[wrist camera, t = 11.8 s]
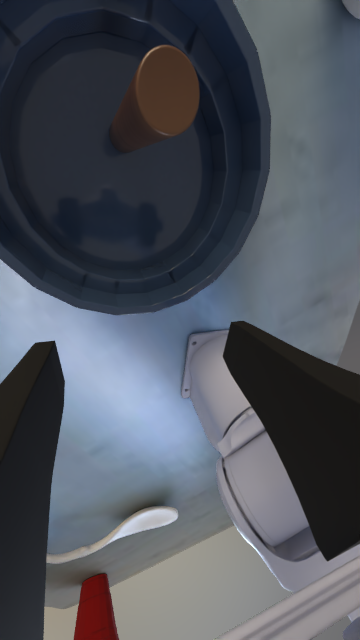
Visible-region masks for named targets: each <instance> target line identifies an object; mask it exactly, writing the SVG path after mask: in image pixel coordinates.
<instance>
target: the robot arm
mask: <svg viewBox="0 0 360 640" xmlns="http://www.w3.org/2000/svg"><path fill="white" fill-rule="evenodd" d="M194 341H195V342H194ZM192 342H194V343H192ZM64 385H65V380H64V376H63V372H62V368H61V364H60V360H59V356H58V352H57V347H56V343H55V341H48V342H39V343H35V344H34V345H33V346H32V347H31V348H30V350H29V351H28V352H27V353H26V354H25V356H24V357H23V358H22V359H21V361H20V362H19V363H18V364H17V365H16V367H15V368H14V369H13V370H12V371H11V372H10V374H9V375H8V376H7V377H6V378H5V379H4V380H3V382H2V383H1V384H0V640H43V633H44V631H43V630H44V602H45V580H46V557H47V540H48V523H49V509H50V495H51V483H52V475H53V468H54V462H55V456H56V450H57V444H58V438H59V432H60V426H61V420H62V414H63V407H64ZM181 396H182V398H189V397H190V399H191V401H192V403H193V406H194V408H195V410H196V413H197V415H198V417H199V420H200V422H201V425H202V427H203V429H204V432H205V434H206V436H207V438H208V440H209V442H210V443H211V445H212V446H213V447H214V448H215V449H216V450H218V451H219V452H220V453H221V455H222V456H221V457H220V458H219V459H218V460H217V465H216V470H217V471H216V480H217V485H218V489H219V492H220V495H221V498H222V501H223V503H224V506H225V508H226V510H227V512H228V514H229V516H230V518H231V520H232V521H233V523H234V525H235V526H236V528H237V529H238V531H239V532H240V534H241V535H242V536H243V538H244V539H245V540H246V541H247V542H248V543H249V544H250V545H252V546H253V547H254V549H255V550H256V551H257V552H258V554H259V555H260V556H261V558H262V559H263V560H264V562H265V563H266V564H267V566H268V568H269V569H270V571H271V572H272V574H273V575H274V576H276V577H277V579H278V581H279V582H280V584H281V586H282V587H283V588H285V589H286V590H288V591H292V592H294V593H293V594H292V595H290V596H288V597H286V598H285V599H283V600H281V601H279V602H278V603H276V604H274V605H272V606H271V607H269V608H268V609H265V610H264V611H262V612H260V613H259V614H257V615H255V616H253V617H252V618H250V619H248V620H246V621H245V622H243V623H241V624H239V625H238V626H236V627H234V628H233V629H231V630H229V631H227V632H225V633H224V634H222V635H220V636H219V637H217V638H215V639H213V640H311V639H313V638H314V637H316V636H317V635H319V634H320V633H322V632H323V631H325V630H326V629H328V628H329V627H331V626H332V625H334V624H335V623H337V622H338V621H340V620H341V619H343V618H344V617H346V616H348V617H349V619H350V620H351V622H352V623H351V624H350V625H349V626H348V627H347V628H346V629H345V630H344V631H343V638H344V640H360V375H359V374H356V373H353V372H350V371H347V370H345V369H342V368H340V367H338V366H335V365H333V364H330V363H328V362H325V361H323V360H321V359H318V358H316V357H314V356H312V355H310V354H308V353H306V352H304V351H301V350H299V349H297V348H295V347H293V346H291V345H289V344H288V343H286V342H284V341H282V340H280V339H278V338H276V337H274V336H272V335H270V334H269V333H267V332H265V331H263V330H261V329H259V328H257V327H255V326H253V325H251V324H249V323H247V322H244V321H237V322H231V325H230V329H229V330H222V331H213V332H204V333H195V334H192V335H190V337H189V341H188V349H187V356H186V363H185V370H184V377H183V384H182V391H181Z"/></svg>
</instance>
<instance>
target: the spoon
mask: <svg viewBox="0 0 360 640" xmlns="http://www.w3.org/2000/svg"><path fill="white" fill-rule="evenodd" d="M177 518H178V510H177V509H176V508H173V507H168V506H154V507H148V508H145V509H142V510H140V511H138V512H136V513H134V514H133V515H131V516H130V517H128V518H127V519H126V520H124V521H123V522H122V523H121V524H120V525H118V526H117V527H116V528H115V529H114V530H113V531H112V532H111V533H110V534H108V535H107V536H106V537H104V538H103V539H101V540H100V541H98V542H96V543H94V544H91V545H88V546H82V547H80V548H78V549H76V550H73V551H70V552H67V553H63V554H50V553H47V557H46V562H48V563H64V562H67V561H70V560H73V559H77V558H80V557H85V556H87V555H88V554H91V553H93V552H95V551H97V550H99V549H101V548H102V547H104V546H106V545H107V544H109V543H110V542H112V541H114V540H116V539H118V538H121V537H124V536H127V535H131V534H134V533H137V532H140V531H144V530H148V529H153V528H157V527H160V526H164V525H167V524H169V523H171V522H173V521H175V520H176V519H177Z"/></svg>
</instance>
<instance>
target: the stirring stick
mask: <svg viewBox="0 0 360 640" xmlns="http://www.w3.org/2000/svg"><path fill="white" fill-rule="evenodd" d="M199 98H200V90H199V82H198V78H197V74H196V72H195V69H194V67H193V65H192V63H191V62H190V60H189V59H188V57H187V56H186V55H185V54H184V53H183V52H182V51H181V50H179V49H178V48H176V47H173V46H170V45H159V46H156V47H154V48H152V49H151V50H149V51H148V52H147V53H146V54H145V56H144V57H143V59H142V60H141V62H140V64H139V66H138V68H137V71H136V73H135V75H134V77H133V79H132V81H131V83H130V85H129V87H128V90H127V92H126V94H125V96H124V98H123V100H122V102H121V104H120V106H119V109H118V111H117V113H116V115H115V117H114V119H113V121H112V123H111V126H110V129H109V136H110V140H111V142H112V144H113V146H114V147H115V148H116V149H117V150H118V151H120V152H123V153H128V152H131V151H134V150H137V149H140V148H143V147H146V146H149V145H151V144H154V143H157V142H160V141H163V140H166V139H168V138H171V137H174V136H177V135H179V134H181V133H183V132H185V131H186V130H187V129H188V128H189V127H190V125H191V124H192V122H193V121H194V119H195V116H196V114H197V111H198V106H199Z"/></svg>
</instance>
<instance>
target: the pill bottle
mask: <svg viewBox="0 0 360 640" xmlns="http://www.w3.org/2000/svg"><path fill="white" fill-rule="evenodd" d="M342 2H343V4H344V6H345V7H346V9H347V10H348V11H349V12H350V13H351V14H352V15H353V16H354V17H356V18H358V19H360V0H342Z"/></svg>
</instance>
